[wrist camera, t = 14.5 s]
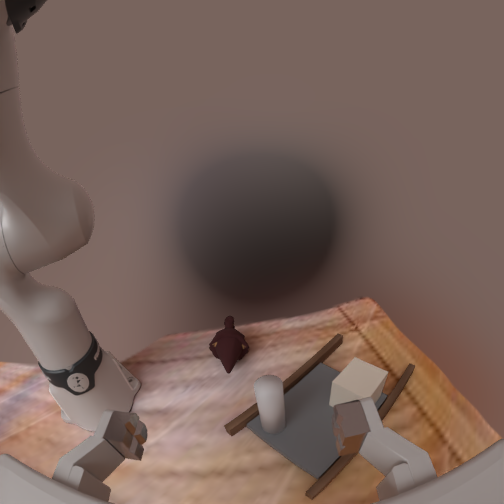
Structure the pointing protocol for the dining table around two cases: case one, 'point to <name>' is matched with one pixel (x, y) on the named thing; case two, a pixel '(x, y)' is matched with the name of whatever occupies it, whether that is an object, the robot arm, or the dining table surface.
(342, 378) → the block
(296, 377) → the rails
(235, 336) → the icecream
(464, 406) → the dining table surface
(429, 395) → the dining table surface
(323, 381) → the board
